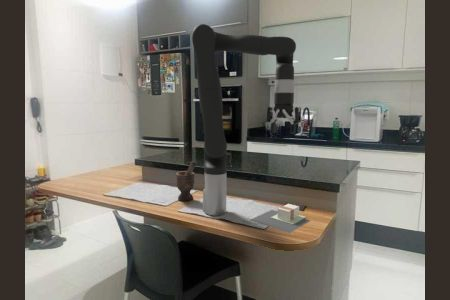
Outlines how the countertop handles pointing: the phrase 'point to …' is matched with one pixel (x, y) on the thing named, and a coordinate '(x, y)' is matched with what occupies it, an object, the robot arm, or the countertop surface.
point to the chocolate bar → (301, 207)
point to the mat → (280, 221)
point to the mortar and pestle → (186, 182)
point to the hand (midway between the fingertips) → (282, 133)
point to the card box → (288, 212)
